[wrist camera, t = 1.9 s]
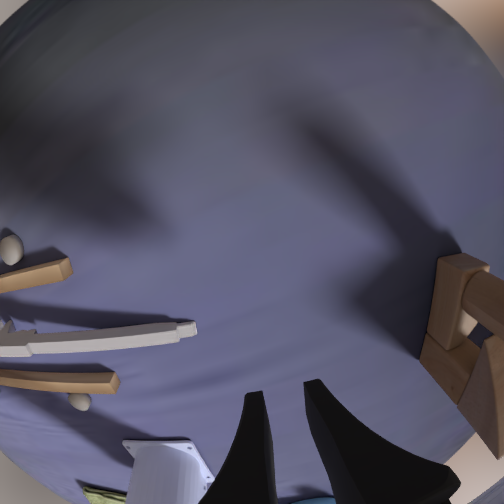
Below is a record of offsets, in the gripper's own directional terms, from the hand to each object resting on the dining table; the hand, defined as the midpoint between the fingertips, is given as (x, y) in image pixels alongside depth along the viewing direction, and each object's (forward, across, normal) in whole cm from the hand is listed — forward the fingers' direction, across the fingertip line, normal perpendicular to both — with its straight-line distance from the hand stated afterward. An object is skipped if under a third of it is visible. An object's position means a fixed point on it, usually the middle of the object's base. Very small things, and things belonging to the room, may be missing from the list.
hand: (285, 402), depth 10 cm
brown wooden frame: (+10, -16, +5) cm, 19 cm away
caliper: (+10, +15, 0) cm, 18 cm away
